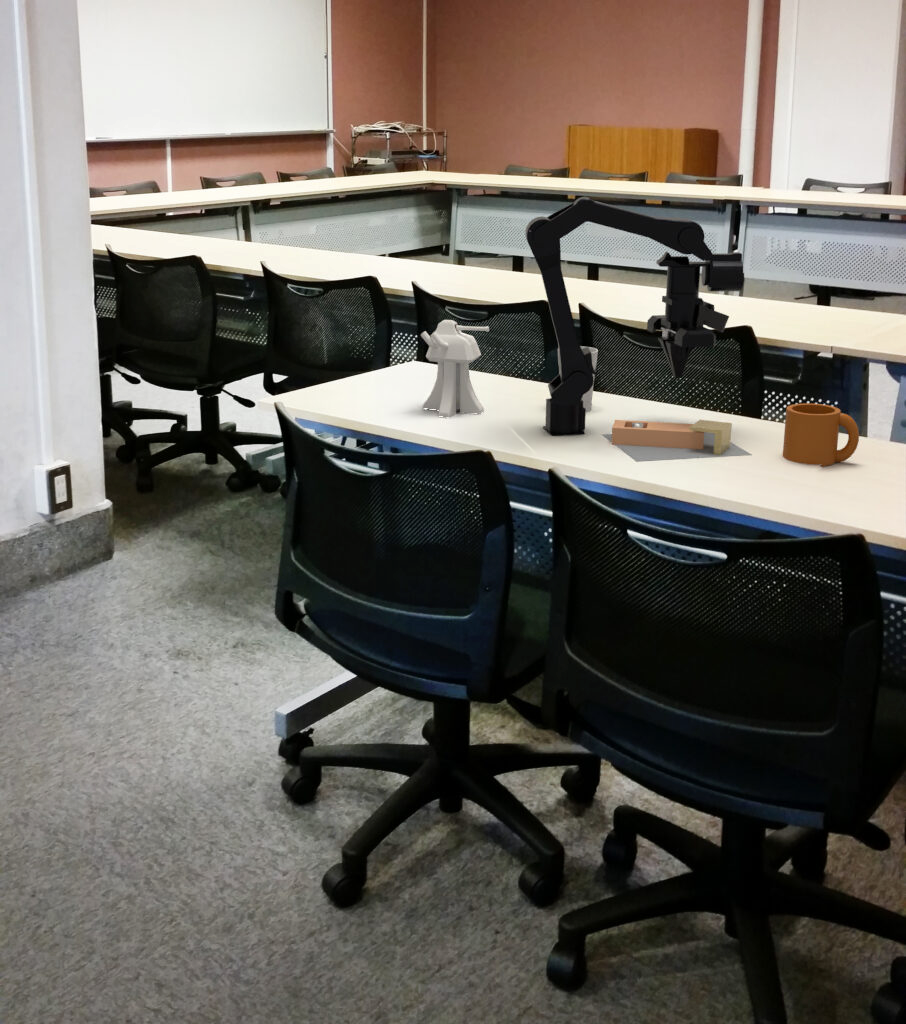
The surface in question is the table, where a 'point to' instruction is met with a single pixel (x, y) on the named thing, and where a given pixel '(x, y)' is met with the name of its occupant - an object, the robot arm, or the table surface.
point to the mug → (817, 434)
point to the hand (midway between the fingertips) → (677, 377)
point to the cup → (588, 396)
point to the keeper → (716, 433)
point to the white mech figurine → (453, 369)
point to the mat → (677, 450)
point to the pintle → (637, 425)
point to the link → (657, 435)
